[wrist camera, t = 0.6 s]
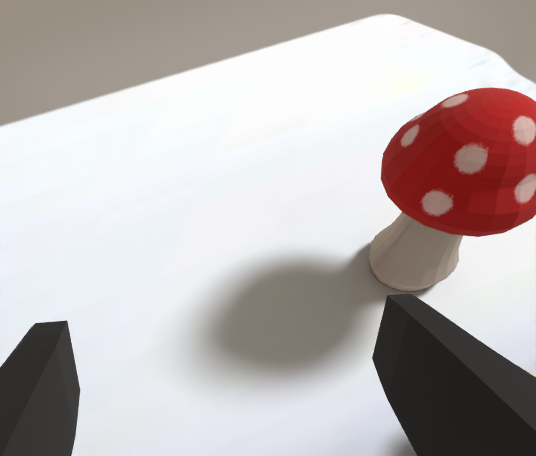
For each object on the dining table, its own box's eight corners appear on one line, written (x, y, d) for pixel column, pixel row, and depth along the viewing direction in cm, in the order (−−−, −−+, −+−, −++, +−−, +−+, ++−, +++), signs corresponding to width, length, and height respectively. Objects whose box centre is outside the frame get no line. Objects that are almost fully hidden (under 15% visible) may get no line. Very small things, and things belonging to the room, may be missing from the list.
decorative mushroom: (377, 333, 31) (476, 187, 19) (324, 233, 36) (377, 63, 24) (496, 293, 34) (648, 141, 22) (433, 204, 39) (530, 38, 26)
